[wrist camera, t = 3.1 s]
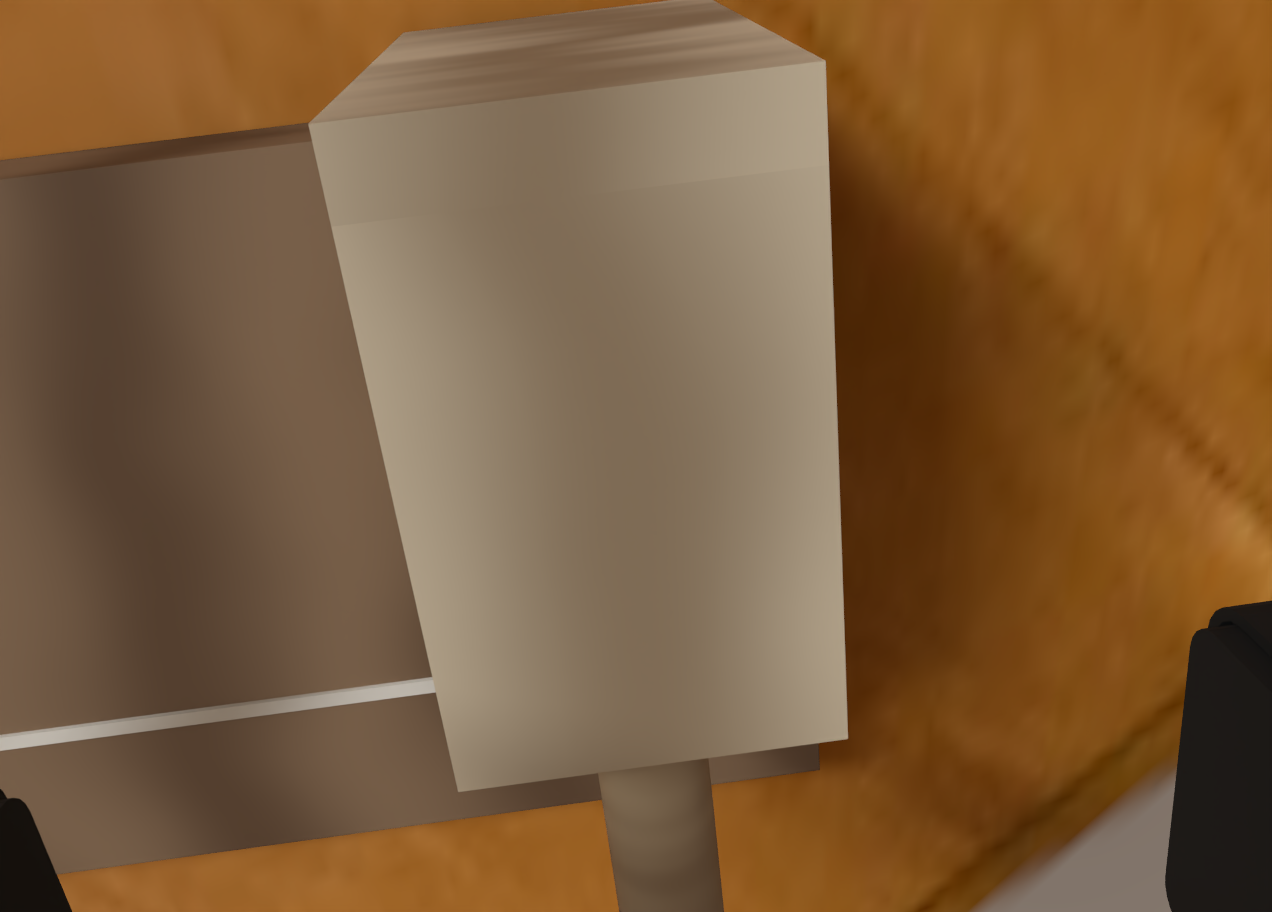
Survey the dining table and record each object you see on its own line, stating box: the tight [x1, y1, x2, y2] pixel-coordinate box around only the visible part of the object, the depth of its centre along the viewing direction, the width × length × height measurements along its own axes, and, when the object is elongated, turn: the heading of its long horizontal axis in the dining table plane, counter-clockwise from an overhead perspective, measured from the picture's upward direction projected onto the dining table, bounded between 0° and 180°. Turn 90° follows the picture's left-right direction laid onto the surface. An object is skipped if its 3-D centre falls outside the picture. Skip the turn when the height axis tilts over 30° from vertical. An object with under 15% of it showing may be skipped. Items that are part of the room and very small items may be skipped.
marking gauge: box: [308, 0, 848, 912], centre depth 18 cm, size 5×13×9 cm, turn 6°
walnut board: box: [0, 123, 820, 874], centre depth 22 cm, size 23×14×2 cm, turn 96°
